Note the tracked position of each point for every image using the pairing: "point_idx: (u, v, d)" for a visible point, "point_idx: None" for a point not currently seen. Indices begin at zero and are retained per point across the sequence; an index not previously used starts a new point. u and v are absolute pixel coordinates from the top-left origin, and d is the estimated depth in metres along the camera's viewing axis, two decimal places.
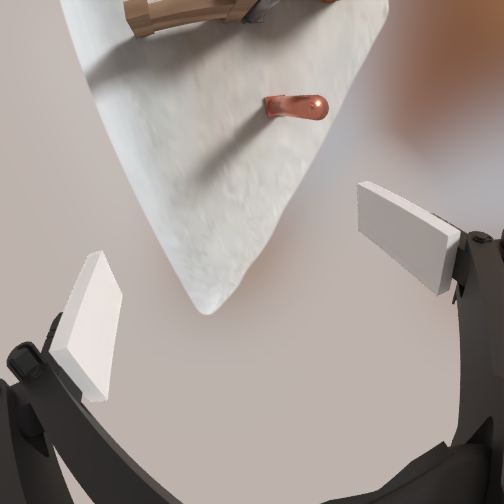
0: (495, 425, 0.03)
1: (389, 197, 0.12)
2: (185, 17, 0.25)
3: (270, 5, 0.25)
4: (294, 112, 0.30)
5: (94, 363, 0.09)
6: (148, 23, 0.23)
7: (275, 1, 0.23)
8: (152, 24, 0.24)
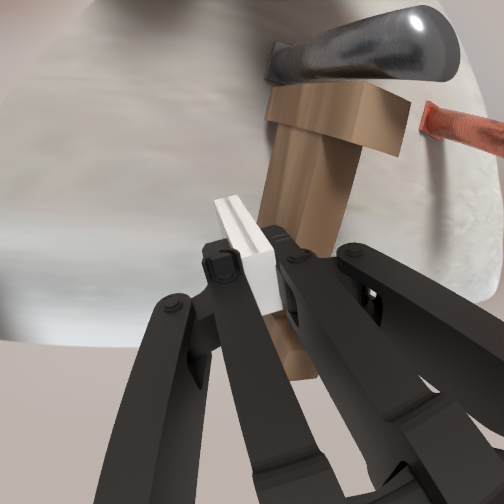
0: (415, 470, 0.03)
1: (236, 212, 0.14)
2: None
3: None
4: None
5: None
6: None
7: None
8: None
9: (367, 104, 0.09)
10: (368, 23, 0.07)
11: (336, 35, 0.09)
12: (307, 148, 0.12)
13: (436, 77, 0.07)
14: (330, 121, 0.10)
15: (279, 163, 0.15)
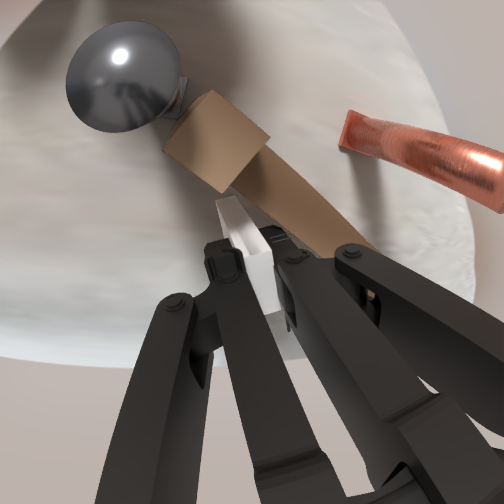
0: (415, 471, 0.03)
1: (234, 213, 0.14)
2: None
3: (180, 92, 0.10)
4: None
5: None
6: (373, 247, 0.15)
7: (180, 88, 0.08)
8: None
9: (190, 157, 0.08)
10: None
11: None
12: None
13: (124, 126, 0.06)
14: None
15: None
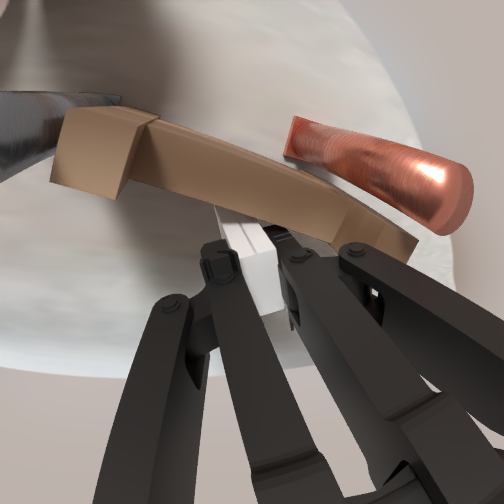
0: (416, 470, 0.03)
1: (238, 212, 0.14)
2: (260, 159, 0.13)
3: None
4: None
5: None
6: (345, 196, 0.14)
7: (59, 127, 0.08)
8: (329, 188, 0.14)
9: (73, 177, 0.07)
10: None
11: None
12: None
13: None
14: None
15: None
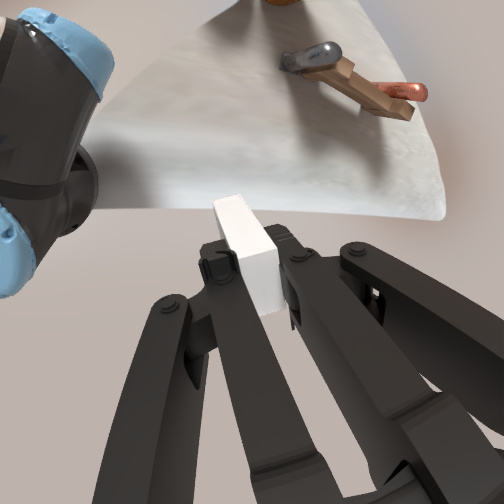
0: (417, 469, 0.03)
1: (239, 211, 0.14)
2: None
3: None
4: None
5: None
6: None
7: None
8: None
9: (340, 70, 0.30)
10: (314, 48, 0.28)
11: (306, 51, 0.30)
12: (340, 81, 0.33)
13: (332, 61, 0.27)
14: (338, 76, 0.31)
15: (337, 86, 0.36)
